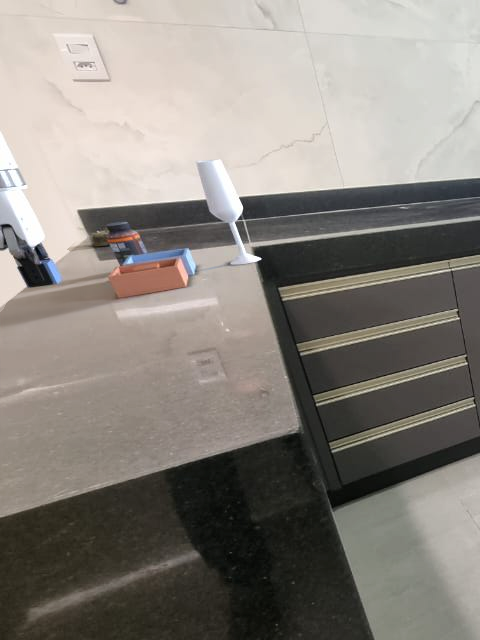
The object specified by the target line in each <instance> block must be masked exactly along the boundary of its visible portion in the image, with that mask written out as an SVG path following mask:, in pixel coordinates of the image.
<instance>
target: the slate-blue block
mask: <svg viewBox="0 0 480 640" xmlns="http://www.w3.org/2000/svg"><path fill="white" fill-rule="evenodd" d="M40 262H41V263H44V265H45V267H46V269H47V271H48V272H49V274H50V276H51V278H52V280H53V284H52V285H51V286H54V285H58V284H59V283H60V282H61V281H63V277H62V275H61V273H60V272H59V270H58V267H57V266H56V264H55V262H54V260H53V259H51V258H50V259H49V260H40ZM16 269H17V271H18V272H19V274H20V276H21V278H22V279H23V282H24V284H25V286H26V288H27V289H30V288H31V287H29V286H28V284H27V282H26V280H25V279H24V277H23V275H22V273H21V271H20V269H19V267H18V266H16ZM31 289H32V288H31Z"/></svg>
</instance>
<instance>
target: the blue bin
mask: <svg viewBox="0 0 480 640" xmlns="http://www.w3.org/2000/svg"><path fill="white" fill-rule="evenodd" d="M173 258H181V261H182V263H183V265H184V268H185V270H186V272H187V275H188V277H189V276H194V275H195V272H196V263H195V261H194V259H193V257H192V254H191V252H190V249H189V247H185V248H178V249H171V250H170V249H169V250H164V251H156V252H148V254H142V255H134V256H128V258H127V259H126V261H125V262H124V263H123V266H125V265H132V264H139V263H146V262H152V261H159V260H166V259H173Z"/></svg>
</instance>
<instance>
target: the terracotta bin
mask: <svg viewBox="0 0 480 640" xmlns="http://www.w3.org/2000/svg"><path fill="white" fill-rule="evenodd" d="M156 263H159V265H160V267H161V268H159V269H153V270H146V271H140V272H134V271H133V270H134V268H135V267H136V266H142V265H149V264H156ZM107 278H108V280H109V282H110V284H111V286H112V289H113V290H114V292H115V294H116V296H117V298H118V299H122V298H129V297H133V296H134V297H135V296H141V295H146V294H152V293H158V292H164V291H169V290H170V291H171V290H175V289H181V288H186V287H187V285H188V281H189V276H188V275H187V272H186V270H185V268H184V265H183V263H182V261H181V258H173V259H166V260H159V261H152V262H146V263H139V264H132V265H125V266H120V265H119V266H115V267H114V268H113V269H112V271H111V272H110V273H109V275H108V276H107Z"/></svg>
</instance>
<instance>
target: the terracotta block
mask: <svg viewBox="0 0 480 640" xmlns="http://www.w3.org/2000/svg"><path fill="white" fill-rule="evenodd" d="M159 268H161V267H160V265H159V263H156V264H149V265H142V266H136V267H135V268H134V270H133V271H134V272H140V271H146V270H153V269H159Z"/></svg>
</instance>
